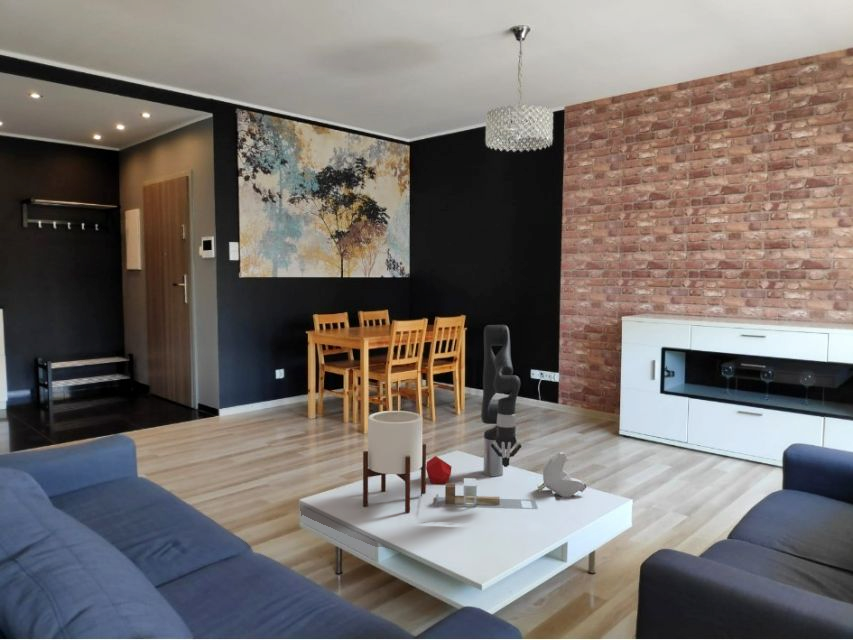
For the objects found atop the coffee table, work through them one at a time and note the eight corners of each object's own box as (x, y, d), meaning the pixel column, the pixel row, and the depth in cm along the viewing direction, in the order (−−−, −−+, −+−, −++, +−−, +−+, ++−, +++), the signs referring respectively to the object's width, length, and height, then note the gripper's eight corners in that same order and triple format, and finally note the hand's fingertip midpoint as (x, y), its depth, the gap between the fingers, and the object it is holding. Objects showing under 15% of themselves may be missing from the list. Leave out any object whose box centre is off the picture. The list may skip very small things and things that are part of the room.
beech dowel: (455, 501, 245) (455, 495, 245) (499, 502, 245) (499, 496, 244) (455, 503, 243) (455, 497, 243) (499, 504, 242) (499, 498, 242)
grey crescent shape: (543, 506, 255) (589, 493, 254) (531, 464, 254) (576, 450, 253) (541, 500, 262) (585, 487, 261) (528, 459, 261) (573, 446, 260)
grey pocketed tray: (435, 500, 250) (436, 477, 249) (534, 503, 248) (535, 479, 247) (435, 509, 240) (435, 485, 239) (538, 512, 238) (538, 488, 237)
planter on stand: (381, 489, 263) (381, 408, 261) (429, 495, 256) (429, 413, 253) (358, 507, 242) (358, 420, 240) (410, 514, 235) (411, 425, 232)
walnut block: (445, 500, 247) (445, 483, 246) (455, 500, 247) (455, 483, 246) (445, 503, 243) (445, 486, 242) (455, 503, 243) (455, 487, 242)
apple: (427, 490, 267) (418, 469, 280) (452, 489, 271) (443, 469, 284) (431, 468, 263) (423, 448, 276) (457, 468, 267) (447, 448, 280)
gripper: (521, 422, 245) (521, 464, 246) (489, 421, 245) (488, 463, 247) (523, 427, 237) (522, 469, 238) (490, 426, 238) (489, 468, 239)
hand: (505, 466), depth 243 cm, fingers closed
